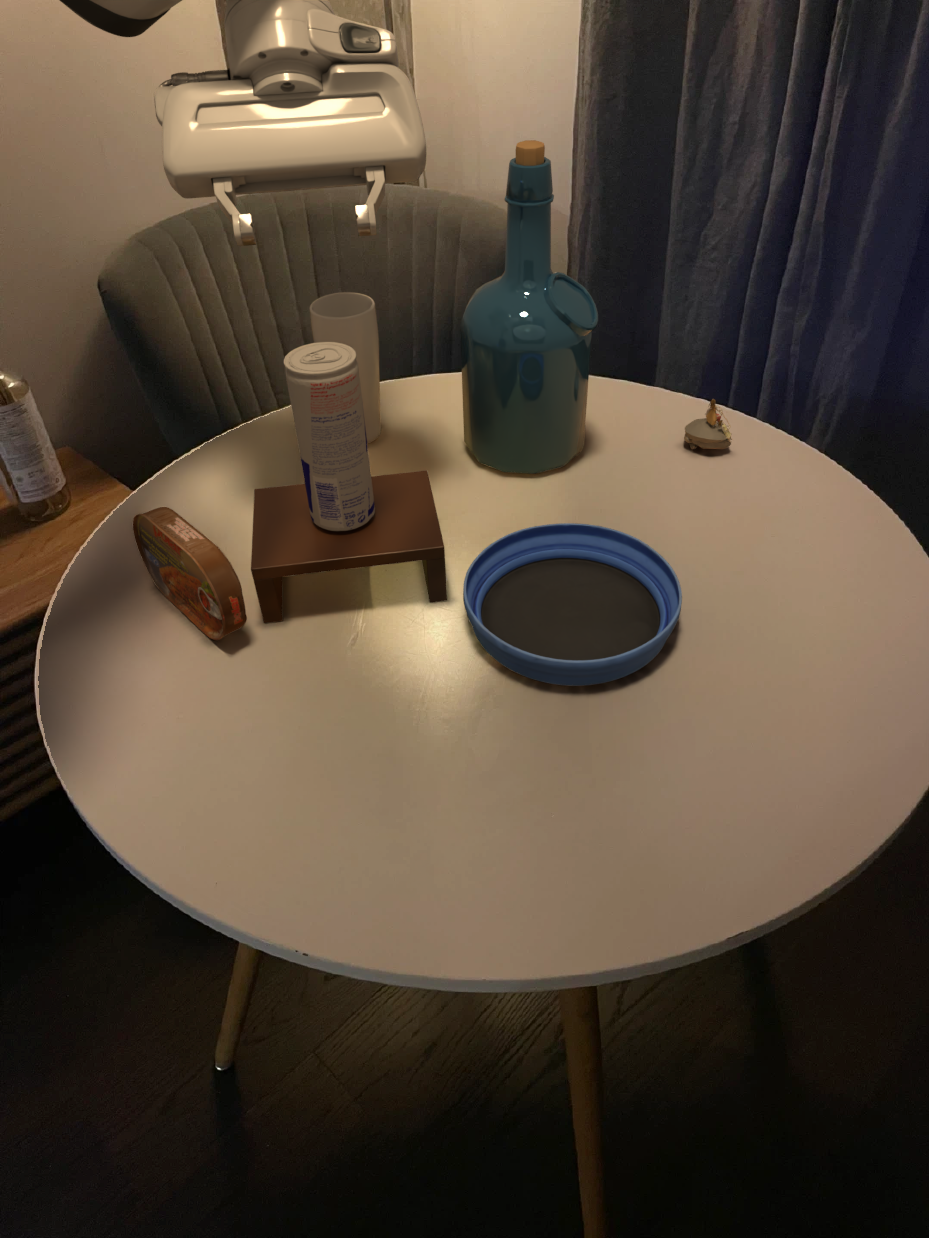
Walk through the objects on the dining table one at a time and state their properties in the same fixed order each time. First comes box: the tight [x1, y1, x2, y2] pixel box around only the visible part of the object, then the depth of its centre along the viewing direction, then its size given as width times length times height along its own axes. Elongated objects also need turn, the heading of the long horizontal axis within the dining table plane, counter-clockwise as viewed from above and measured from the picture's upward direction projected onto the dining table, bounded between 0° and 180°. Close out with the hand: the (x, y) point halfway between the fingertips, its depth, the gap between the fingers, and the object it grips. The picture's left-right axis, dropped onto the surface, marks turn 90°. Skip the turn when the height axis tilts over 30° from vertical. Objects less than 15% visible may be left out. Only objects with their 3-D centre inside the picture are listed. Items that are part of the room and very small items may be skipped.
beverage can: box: [283, 342, 375, 531], centre depth 73 cm, size 6×6×15 cm
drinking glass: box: [309, 291, 382, 445], centre depth 95 cm, size 7×7×15 cm
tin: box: [132, 506, 248, 641], centre depth 76 cm, size 15×3×8 cm, turn 42°
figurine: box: [683, 398, 734, 450], centre depth 94 cm, size 5×4×6 cm
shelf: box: [250, 469, 448, 624], centre depth 80 cm, size 16×12×6 cm
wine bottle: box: [459, 139, 599, 475], centre depth 87 cm, size 14×13×30 cm
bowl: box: [462, 522, 683, 687], centre depth 75 cm, size 18×18×4 cm
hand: (307, 237), depth 69 cm, fingers open, 8 cm apart
